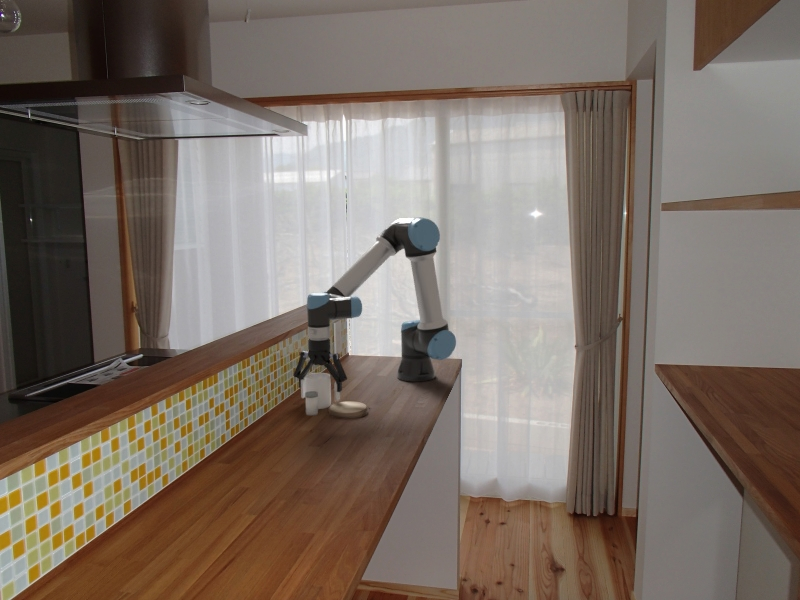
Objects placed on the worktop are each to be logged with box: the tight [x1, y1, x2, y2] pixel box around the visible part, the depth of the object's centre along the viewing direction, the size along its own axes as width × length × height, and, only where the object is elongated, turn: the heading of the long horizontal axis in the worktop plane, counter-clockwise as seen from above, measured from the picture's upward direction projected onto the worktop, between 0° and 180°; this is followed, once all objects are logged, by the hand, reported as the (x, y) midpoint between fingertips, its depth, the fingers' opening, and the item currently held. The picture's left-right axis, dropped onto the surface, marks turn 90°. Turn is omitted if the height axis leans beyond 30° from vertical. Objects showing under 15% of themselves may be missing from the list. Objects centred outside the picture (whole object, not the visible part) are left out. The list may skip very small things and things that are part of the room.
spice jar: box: [304, 391, 319, 416], centre depth 218 cm, size 4×4×7 cm
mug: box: [304, 372, 332, 410], centre depth 228 cm, size 9×12×11 cm
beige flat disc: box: [328, 400, 369, 420], centre depth 219 cm, size 13×13×2 cm
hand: (320, 398), depth 228 cm, fingers open, 12 cm apart
